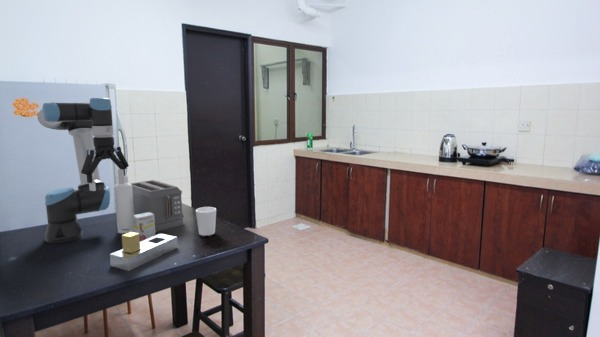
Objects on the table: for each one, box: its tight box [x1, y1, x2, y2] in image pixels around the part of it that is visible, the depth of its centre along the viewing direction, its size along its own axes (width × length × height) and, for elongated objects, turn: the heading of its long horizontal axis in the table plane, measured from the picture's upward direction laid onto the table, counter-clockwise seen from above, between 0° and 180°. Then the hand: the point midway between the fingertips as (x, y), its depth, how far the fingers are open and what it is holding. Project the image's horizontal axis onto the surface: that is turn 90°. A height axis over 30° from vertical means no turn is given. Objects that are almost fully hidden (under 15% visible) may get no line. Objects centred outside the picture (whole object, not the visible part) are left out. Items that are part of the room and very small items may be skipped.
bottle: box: [113, 174, 134, 234], centre depth 184 cm, size 8×8×28 cm
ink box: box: [133, 212, 157, 242], centre depth 175 cm, size 9×5×12 cm, turn 136°
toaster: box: [129, 179, 185, 233], centre depth 199 cm, size 19×34×20 cm, turn 48°
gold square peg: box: [121, 231, 141, 255], centre depth 148 cm, size 4×4×12 cm
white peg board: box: [109, 233, 179, 272], centre depth 155 cm, size 10×26×5 cm, turn 155°
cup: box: [195, 206, 217, 238], centre depth 180 cm, size 10×10×13 cm
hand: (107, 187), depth 155 cm, fingers open, 13 cm apart
